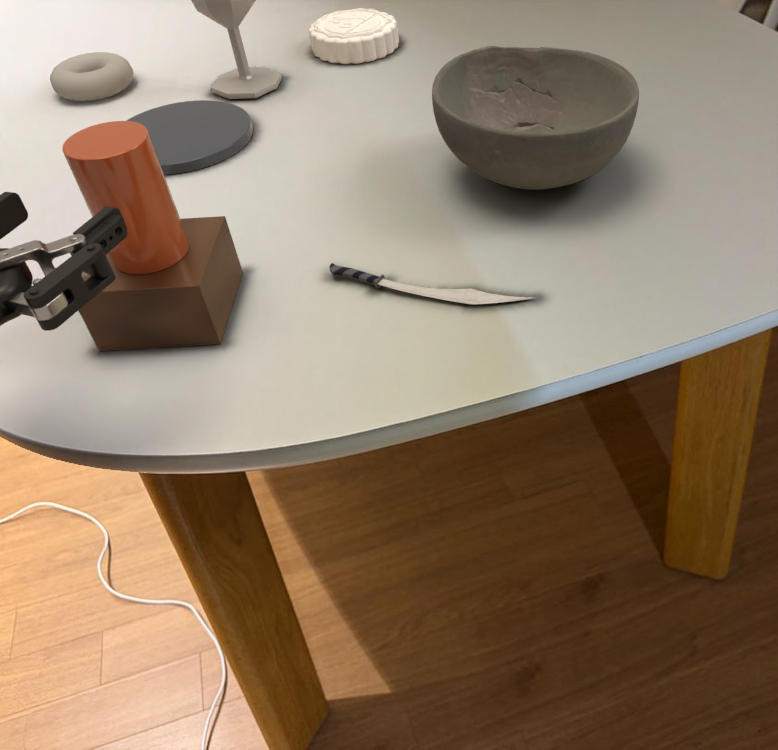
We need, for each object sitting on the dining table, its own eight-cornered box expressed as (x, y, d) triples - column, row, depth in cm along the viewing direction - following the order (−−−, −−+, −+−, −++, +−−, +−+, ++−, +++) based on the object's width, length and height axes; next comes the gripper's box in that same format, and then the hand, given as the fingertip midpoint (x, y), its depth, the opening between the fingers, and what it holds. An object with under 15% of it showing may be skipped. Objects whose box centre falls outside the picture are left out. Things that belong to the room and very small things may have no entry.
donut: (72, 76, 108) (44, 107, 100) (62, 50, 106) (32, 80, 98) (146, 72, 108) (123, 103, 100) (138, 46, 106) (113, 76, 98)
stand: (99, 351, 66) (69, 293, 62) (133, 278, 73) (109, 222, 69) (220, 344, 66) (199, 285, 62) (243, 272, 73) (225, 215, 69)
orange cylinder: (103, 276, 63) (49, 161, 56) (125, 234, 67) (78, 122, 61) (179, 272, 63) (134, 156, 56) (197, 230, 67) (157, 118, 61)
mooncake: (344, 26, 117) (340, 0, 114) (415, 37, 113) (412, 11, 110) (295, 57, 109) (289, 30, 107) (369, 70, 105) (365, 42, 103)
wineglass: (237, 69, 107) (190, -110, 93) (294, 76, 105) (255, -107, 90) (199, 97, 101) (142, -90, 87) (259, 104, 99) (210, -86, 84)
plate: (91, 179, 87) (87, 169, 86) (133, 113, 98) (130, 103, 98) (239, 170, 87) (236, 160, 86) (263, 105, 99) (261, 96, 98)
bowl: (481, 245, 75) (475, 146, 68) (415, 150, 89) (404, 60, 82) (669, 196, 80) (681, 99, 73) (579, 113, 94) (581, 26, 87)
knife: (321, 284, 71) (319, 275, 71) (332, 268, 73) (331, 259, 72) (530, 315, 67) (530, 306, 66) (537, 297, 69) (537, 288, 68)
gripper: (-63, 328, 40) (134, 173, 52) (-265, 287, 44) (-39, 150, 55) (6, 430, 45) (172, 268, 57) (-180, 386, 49) (11, 242, 60)
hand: (68, 210), depth 56 cm, fingers open, 8 cm apart
